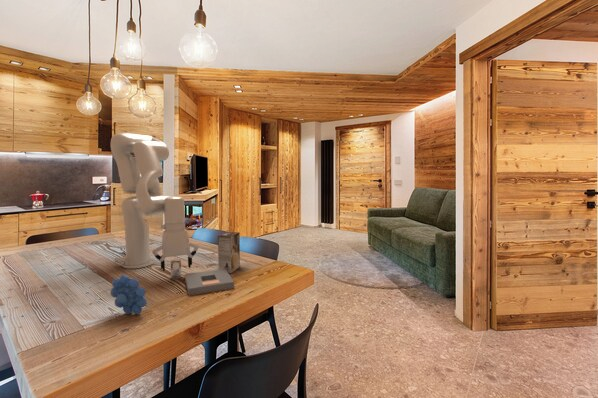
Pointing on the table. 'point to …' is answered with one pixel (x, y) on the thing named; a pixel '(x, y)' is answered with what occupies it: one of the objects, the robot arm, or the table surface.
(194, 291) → the hole board
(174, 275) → the peg
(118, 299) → the grapes
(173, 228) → the robot arm
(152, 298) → the table surface
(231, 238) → the coffee box
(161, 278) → the table surface
